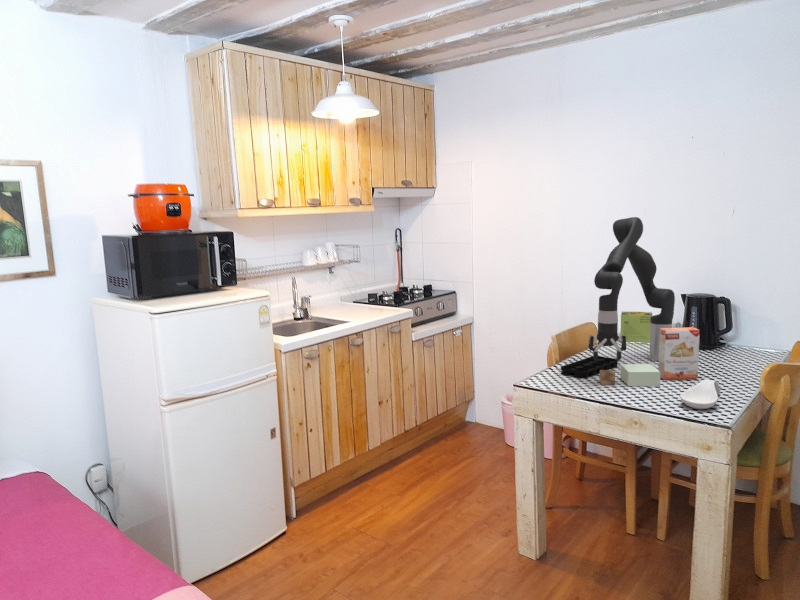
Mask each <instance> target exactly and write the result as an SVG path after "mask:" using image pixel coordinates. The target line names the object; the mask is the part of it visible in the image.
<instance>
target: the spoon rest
mask: <svg viewBox="0 0 800 600" xmlns="http://www.w3.org/2000/svg"><path fill="white" fill-rule="evenodd" d="M718 396H721V388H720V385H719V383H718V381H717V380H710V379H708V378H705V379H703V380H701V381H700V382H698V383H697V384H695V385H693V386H692V387H690V388H688V389H686V390H684V391H683V392H682V393H680V395H679V397H680V400H681V402H683V403H684V404H685V405H686V406H687V407H689V408H692V409H697V410H707V409H710V408H712V407H713V406H715V405H716V404H717V402H718V398H719V397H718Z"/></svg>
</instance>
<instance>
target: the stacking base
mask: <svg viewBox="0 0 800 600" xmlns="http://www.w3.org/2000/svg"><path fill="white" fill-rule="evenodd" d="M620 380H621V381H622V382H623V381H624V382H625V383H626V384H627V385H628V386H658V387H660V386H661V377H660V371H659V370H658V368H656V367H655V366H654V365H653V364H651V363H635V364H634V363H631V364H629V363H628V364H626V363H625V364H620ZM624 382H623V383H624ZM625 383H624V384H625ZM626 384H625V385H626ZM627 385H626V386H627ZM658 387H657V388H658Z"/></svg>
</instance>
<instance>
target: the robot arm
mask: <svg viewBox="0 0 800 600" xmlns="http://www.w3.org/2000/svg"><path fill="white" fill-rule="evenodd" d="M612 231H613V235H614V237H615V239H616V241H617V242H618V244H617V245H616V246H615V247H614V248H613V249H612V250H611V251H610V253H609V255H608V257H607V259H606V262H605V264H604V265H602V267H601V268H600V269H599V270H598V271H597V272H596V274H595V276H594V281H593V282H594V283H593V284H594V285H595V286H594V287H596V288H597V289H599V290H611V292H610V293H609V294H603V295H600V296H599V299H598V313H597V335H592V334H590V335H589V337H588V339H589V340H588V350H590V351H592V352H593V354H592V356H593V358H594V360H595V361H598V356H599V352H598V351H599V350H600V349H601V348H602V347H613V346H614V348H615V350H616V354H615V355H616V356H615V359H616V360H617V361H618V362H620V360H622V352H623V351H626V350H627V343H626V336H624V335H621V334H620V335H621V336H620V335H618V333H619V332H618V330H619V329H618V328H619V327H618V325H619V314H618V302H619V301H618V300H619V295H620V292H621V288H622V286H623V283H624V278H623V275H622V271H623V270H624V267H625V265H626V262H627V260H628V261H629V263H630V265H631V268H632V270H633V272H634V273H635V275H636V277H637V279H638V281H639V284H640V286H641V288H642V292H643V295H644V298H645V300H646V303H647V305H648V306H649V307H651V308H655V309H660V313H658V314H656V315H655V314H654V315H652V317H651V318H650V344H649V354H648V355H649V360H651V361H655V362H659V342H660V328H673V319H674V315H675V304H676V303H675V302H676V301H675V300H676V297H675V295H676V294H675V292H674V290H672V289H669V288H661V287H659V288H658V287H657V285H655V283H654V279H655V276H656V273H657V265H656V264H657V263H656V262H655V260H654V257H653V256H652V255H651V253H650V252H649V251H647V250H646V249H644V248H643V247H641V246H640V245H638V244H637V243H638V242H639V240H640V239H641V238H642V235H643V232H644V224H643V221H642V220H641V218H640V217H637V216H635V217H634V216H633V217H628V218H627V217H626V218H621V219H617V220H615V221H613V224H612ZM596 340H597V341H598V342H596V344H595V346H594V341H596ZM618 340H621V343H620V344H621V346H620V345H618V343H617V342H618Z"/></svg>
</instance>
